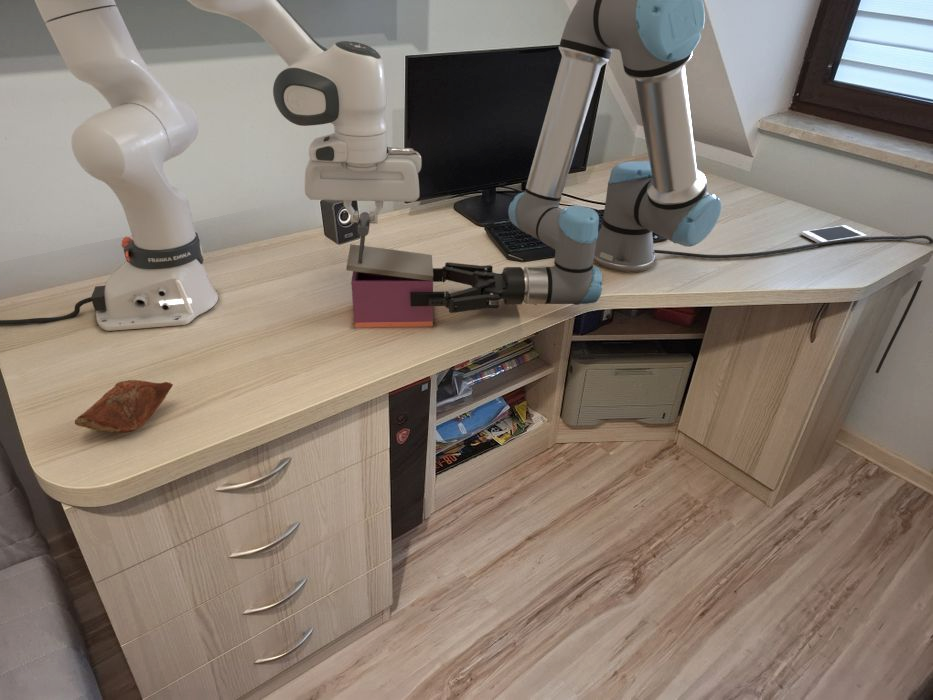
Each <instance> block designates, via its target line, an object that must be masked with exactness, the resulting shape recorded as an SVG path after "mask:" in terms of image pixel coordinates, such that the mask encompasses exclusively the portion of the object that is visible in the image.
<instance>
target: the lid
mask: <svg viewBox="0 0 933 700" xmlns="http://www.w3.org/2000/svg"><path fill="white" fill-rule="evenodd" d="M369 214H370V212H366V211H363V212H361V213H359V223H357V231H356V232H357V234H358V235H359V236H360V240H359V245H358V244H350V245H349V246H350V247H349V249H348V255H347V262H346V269H345V270H346V271H348V272H353V271H355V272H363V273H371V274H379V275H388V276H396V277H404V278H412V279H420V280H428V281H433V268H434V266H433V254H428V253H421V252H413V251H405V250H398V249H391V248H384V247H383V248H382V247H374V246H368V245H367V246H366V245H365V240H366V237H367V236H368V235H369V233H370V227H371V223H369V220H370V219H369Z"/></svg>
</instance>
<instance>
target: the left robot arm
mask: <svg viewBox="0 0 933 700" xmlns="http://www.w3.org/2000/svg"><path fill="white" fill-rule="evenodd" d="M186 1H187V2H188V3H190V4H191V5H192V6H193V7H195V8H196V9H198V10H201V11H205V12H209V13H214V14H219V15H222V16H226V17H228V18H232V19H234V20H237V21H239V22H241V23H243V24H245V25H247V26H248V27H250V28H251V29H253V30H254V32H256V33H257V34H258V35H260V37H261V38H262V39H263V41H264V42H266V43H267V44H268V45H269V47H270V48H271V49H272V50H273V51H274V52H275V53H276V54H277V55H278V56H279V57H280V59H282V61H284V62H285V64H286V65H287V67H285V68H284V69H282V71H281V72H279V73H278V74H277V76H276V78H275V80H274V82H273V87H272V97H273V100H274V104H275V106H276V108H277V110H278V111H279V113H280V114H281V115H282V116H283V117H284V118H285V120H287V121H288V122H290V123H291V124H294V125H297V126H300V127H302V126H303V127H309V126H318V125H319V126H321V125H326V124H332V125H333V129H334V132H333V133H329V134H326V135H322V136H319V137H316V138H314V139H313V140H312V142H311V143H310V144H309V147H308V156H309V159H308V162H307V164H306V166H305V167H306V168H305V171H304V194H305V196H306V197H307V198H308V200H311V201H343V207H344V208H345V210H346V212H347V213H348V214H349V215H350V224H359V218H360V210H359V211H358V210H355V209H354V207H353V206H352V204H353V201H355V202H357V201H359V202H362V201H363V202H374V206H375V209H374V210H372V211H371V210H370V211H369V219H370V220H369V223H370V224H375V225H376V224H378V221H379V214H380V213H381V211H382V209H383V208H384V202H395V203H396V202H397V203H399V202H401V203H402V202H403V203H416V202H417V200H418V199H419V198H420V180H419V173H420V172H421V171H422V167H423V162H422V161H423V158H422V156H421V153H419V152H418V151H417V150H414V148H411V147H405V148H401V147H388V131H387V130H388V127H387V123H386V119H385V111H386V107H387V84H386V73H385V66H384V62H383V58H382V56H381V55H380V53H379V52H378V51H377V50H376V49H375V48H373V47H371V46H369V45H367V44H364V43H360V42H358V41H349V40H341V41H336V42H335V43H334V44H333V45H332V46H331V47H330V48H326V47H324V46H323V45H322V44H320V43H319V42H318V41H316V40H315V38H313V36H312V35H311V34H310V33H309V32H308V31H307V29H305V27H304V26H302V25H301V23H300V22H299V21H298V20H297V19H296V18H295V16H294V15H292V13H291V12H290V11H289V10H288V9H287V8H286V6H285V5H284V4H283V3H282V2H281V1H280V0H186ZM34 2H35V5H36V7H37V10H38V12H39V14H40V16H41V18H42V20H43V22H44V24H45V27H46V28H47V30H48V32H49V34H50V36H51V38H52V40H53V42H54V44H55V45H56V48H57V49H58V51H59V54H60V55H61V57H62V60H63V61H64V63H65V65H66V67H67V69H68V71H69V72H70V74H71V75H73V76H74V77H75V79H78V80H79V81H81V82H83V83H85V84H88V85H90V86H92V87H93V88H94V89H95V90H96V91H97V92H98V93H100V95H101V96H102V97H103V98H104V100H106V101H107V103H108V104H109V107H110V108H109V109H105V110H103V111H100V112H97V113H94V114H92V116H90V117H88V118H87V119H86V120H85V121H83V122H82V123H81V124H80V125H78V126H77V127H76V128H75V129H74V131H73V132H72V136H71V150H72V153H73V156H74V157H75V160H76V161H77V163H78V165H79V166H80V167H81V169H82V170H84V171H85V172H86V173H87V174H88V175H90V176H91V177H93V178H94V179H96V180H98V181H101V182H103V183H104V184H105V185H107V186H108V187H109V188H110V189H111V191H112V192H113V193H114V195H115V196H116V198H117V199H118V201H119V203H120V205H121V207H122V209H123V212H124V215H125V219H126V221H127V224H128V227H129V231H130V234H131V237H129V236H125V237H123V238H122V240H121V247H122V248H123V253H124V257H125V260H126V261H125V262H123V264H122V265H121V266H119V267H118V268H117V269H116V270H115V271H114V272H113V273H111V274H110V275H109V277H108V278H107V280H106V282H105V285H96V286H95V287H94V289H93V291H92V293H91V296H90V297H87V298H82V299H81V300H79V301H78V302H76V304H75V305H74V310H73V311H72V312H70V313H68V314H66V315H62V316H61V315H60V316H55V317H54V316H53V317H33V318H21V319H0V326H3V325H4V326H5V325H7V326H10V325H26V324H36V323H52V322H58V321H63V320H68V319H72V318H74V317H77V315H79V314H80V311H81V307H82V306H84V305H86V304H88V303H92V306H93V309H94V311H95V317H96V322H97V324H98V326H99V327H100V328H101V329H102V330H103V331H106V332H111V331H112V332H113V331H125V330H137V329H139V330H140V329H151V328H164V327H174V326H184V325H188V324H190V323H191V322H192V321H194V319H195V318H197V317H198V316H200V315H202V314H204V313H206V312H208V311H209V310H211V309H212V308H213V307H214V306H215V305H216V304H217V303H218V300H219V295H218V292H217V291H216V290H215V288H214V286H213V284H212V282H211V280H210V278H209V274H208V272H207V270H206V267H205V264H204V258H205V257H204V256H205V255H204V251H203V246H202V241H201V239H200V237H199V234H198V232H197V231H196V230H195V229H196V228H195V225H194V224H195V223H194V219H193V216H192V211H191V207H190V201H189V199H188V196H187V194H185V193H184V192H183V191H182V190H180V189H179V188H177V187H175V186H173V185H171V184H170V182H169V181H168V179H167V176H166V173H165V172H164V167H163V166H164V163H165V162H167V161H169V160H171V159H174V158H176V157H178V156H180V155H182V154H183V153H184V152H185V151H186V150H187V149H188V148H189V147H190V146H191V145H192V144H193V142H194V141H196V138H197V137H198V133H199V122H198V119H197V116H196V113H195V112H194V111H193V109H192V107H191V106H190V105H189V103H188V102H186V101H185V100H183V99H182V98H181V97H178V96H176V95H175V94H173V93H172V92H170V91H169V90H168V89H167V88H166V87H165V86H164V84H163V83H162V82H161V81H160V80H159V79H158V78H157V76H155V74H154V73H153V71H151V69H150V68H149V66H148V64H146V61H145V60H144V59H143V57H142V56H141V54H140V52H139V51H138V48H137V47H136V44H135V42H134V40H133V37H132V35H131V33H130V32H129V30H128V27H127V25H126V23H125V21H124V19H123V16H122V14H121V12H120V10H119V7H118V6H117V4H116V3H117V2H116V1H115V0H34Z"/></svg>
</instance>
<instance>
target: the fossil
mask: <svg viewBox="0 0 933 700" xmlns="http://www.w3.org/2000/svg"><path fill="white" fill-rule="evenodd" d="M173 386H174V384H173V383H172V382H168V381H164V382H152V381H146V380H139V379H129V380H122V381H119V382H117V383H116V384H115V385H114V386H113V387H112V388H111V389H109V390H108V391H106V392H105V393H104V394H103V395H102V396H101V397H100V398H99V399H98V400H97V401H96V402H94V403H93V404H92V406H90V407H88V409H86V410H85V411H83V413H81V414H80V415H79V416H77V417H76V419H75V420H74V425H76V426H77V427H81V428H86V429H88V430H89V429H90V430H92V431H93V430H95V431H99V432H110V433H116V434H117V433H120V434H125V433H131V432H133V431H136V430H138V429H140V428H141V427H142V426H144V425H145V424H146V423H147V421H148V420H149V419H150V418H151V417H152V416H153V415H154V414H155V413H156V411H157V409H159V407H160V406H161V404H162V403H163V402H164V400H165V398H166V397H167V395H168V393H169V392H170V391H171V389H172V388H173Z"/></svg>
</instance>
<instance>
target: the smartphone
mask: <svg viewBox="0 0 933 700" xmlns="http://www.w3.org/2000/svg"><path fill="white" fill-rule="evenodd" d="M801 235H802V236H803V237H806V238H807V239H809V240H811V241H814V242H815V243H819V242H827V241H833V240H840V239H847V238H858V237H867V234H865V233H863V232H861V231H859V230H856V229H854V228H852V227H850V226H848V225H846V224H845V225H844V224H843V225H837V226H831V227H824V228H817V229H810V230H803V231H802V232H801Z"/></svg>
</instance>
